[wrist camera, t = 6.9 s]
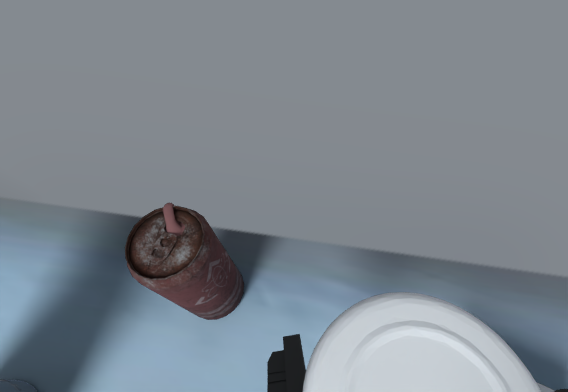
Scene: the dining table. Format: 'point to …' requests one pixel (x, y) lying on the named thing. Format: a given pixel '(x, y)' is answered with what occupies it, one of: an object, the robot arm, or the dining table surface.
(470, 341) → the sprinkles bottle
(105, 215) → the dining table surface
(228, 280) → the can
